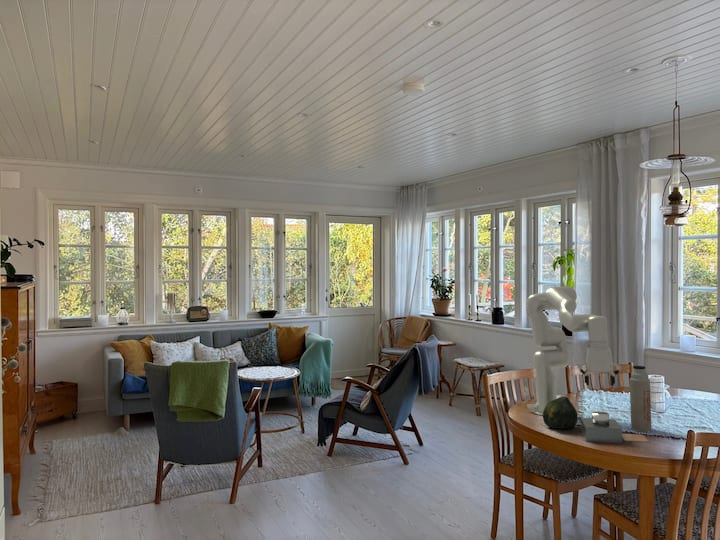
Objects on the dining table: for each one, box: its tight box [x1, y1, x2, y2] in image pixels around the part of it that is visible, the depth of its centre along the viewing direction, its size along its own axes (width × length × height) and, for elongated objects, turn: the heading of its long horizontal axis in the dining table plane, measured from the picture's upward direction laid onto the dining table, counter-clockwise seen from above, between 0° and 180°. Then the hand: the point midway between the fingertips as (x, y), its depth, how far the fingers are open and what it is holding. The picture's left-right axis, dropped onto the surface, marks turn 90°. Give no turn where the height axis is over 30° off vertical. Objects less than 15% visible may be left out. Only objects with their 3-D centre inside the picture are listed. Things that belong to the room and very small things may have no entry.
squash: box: [542, 396, 578, 430], centre depth 242 cm, size 14×15×15 cm
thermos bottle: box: [629, 365, 652, 433], centre depth 236 cm, size 8×8×28 cm
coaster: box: [622, 433, 649, 443], centre depth 224 cm, size 9×9×1 cm
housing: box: [580, 417, 623, 444], centre depth 226 cm, size 14×14×6 cm
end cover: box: [591, 410, 610, 425], centre depth 226 cm, size 7×7×10 cm
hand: (599, 385), depth 226 cm, fingers open, 9 cm apart
